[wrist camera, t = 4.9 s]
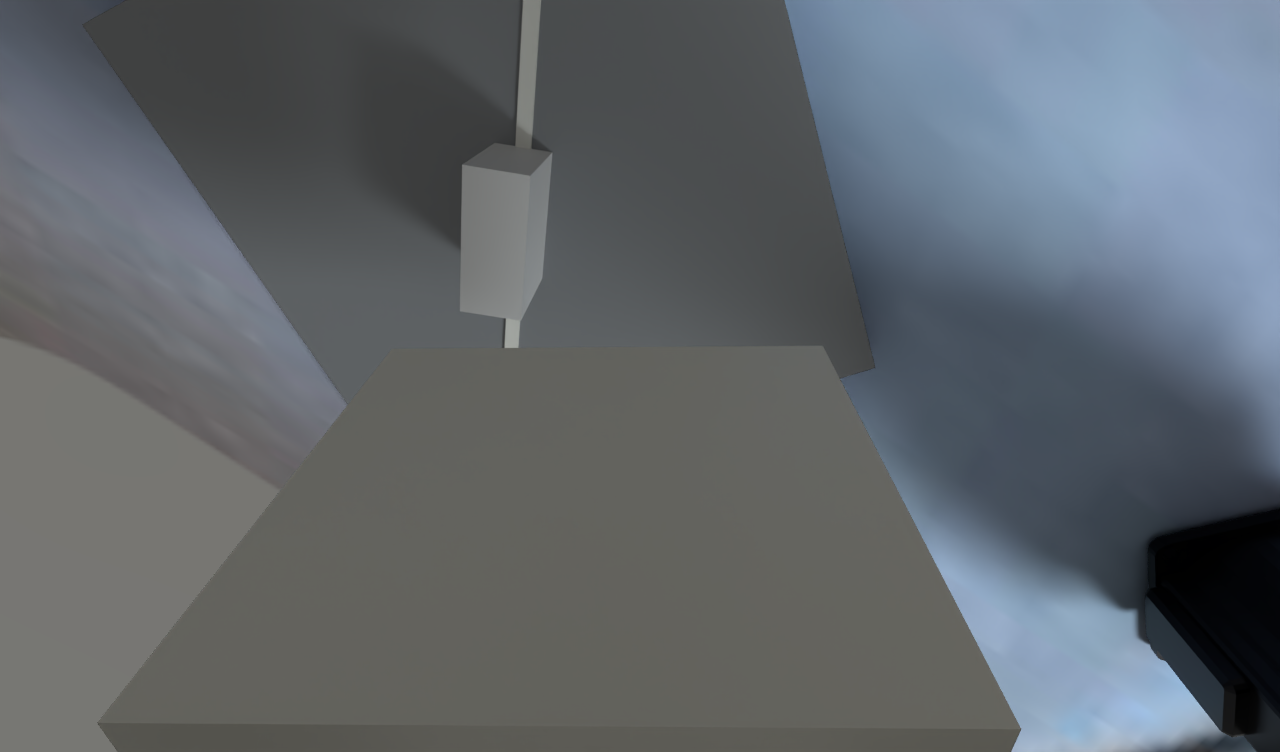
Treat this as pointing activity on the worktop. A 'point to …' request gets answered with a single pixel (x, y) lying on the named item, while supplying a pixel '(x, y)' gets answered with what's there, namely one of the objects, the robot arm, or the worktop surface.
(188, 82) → the grey peg base plate
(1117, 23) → the worktop surface
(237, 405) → the worktop surface
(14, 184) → the worktop surface
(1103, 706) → the worktop surface
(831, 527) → the square tube sleeve
